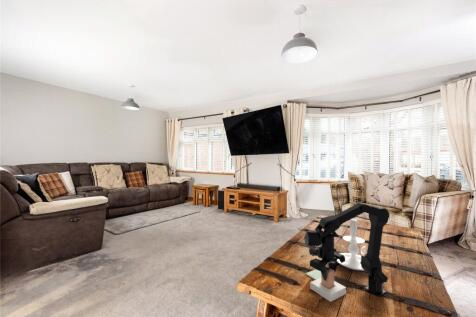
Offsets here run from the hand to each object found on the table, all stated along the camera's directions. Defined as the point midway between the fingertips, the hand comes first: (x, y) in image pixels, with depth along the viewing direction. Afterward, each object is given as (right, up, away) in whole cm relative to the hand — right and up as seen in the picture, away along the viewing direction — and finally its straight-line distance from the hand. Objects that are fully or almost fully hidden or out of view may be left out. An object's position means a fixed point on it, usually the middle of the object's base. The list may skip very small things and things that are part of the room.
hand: (327, 278), depth 98 cm
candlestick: (+27, -6, +25) cm, 37 cm away
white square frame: (0, -6, 0) cm, 6 cm away
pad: (+1, -6, +13) cm, 14 cm away
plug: (0, -5, 0) cm, 5 cm away
